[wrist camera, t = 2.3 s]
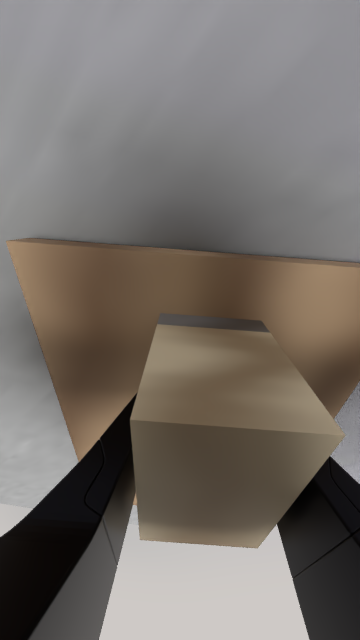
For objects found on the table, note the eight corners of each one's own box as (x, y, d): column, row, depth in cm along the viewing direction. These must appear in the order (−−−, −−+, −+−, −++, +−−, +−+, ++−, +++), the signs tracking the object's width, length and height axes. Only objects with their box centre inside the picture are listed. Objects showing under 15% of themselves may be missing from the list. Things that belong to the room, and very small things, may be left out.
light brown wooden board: (401, 266, 8) (434, 273, 7) (263, 497, 19) (268, 514, 17) (29, 237, 8) (5, 240, 7) (97, 485, 18) (92, 502, 17)
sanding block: (261, 320, 8) (346, 435, 4) (230, 422, 12) (257, 548, 7) (160, 313, 8) (129, 420, 4) (157, 417, 12) (139, 539, 7)
